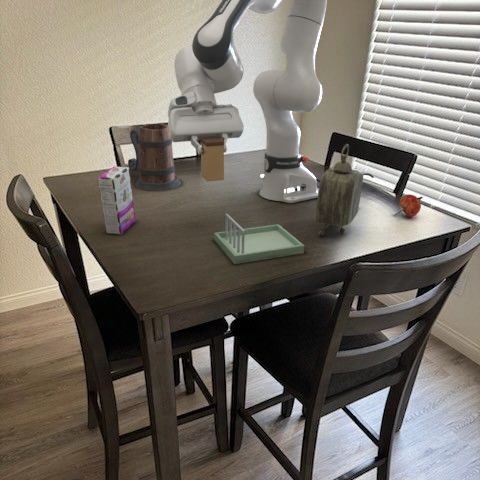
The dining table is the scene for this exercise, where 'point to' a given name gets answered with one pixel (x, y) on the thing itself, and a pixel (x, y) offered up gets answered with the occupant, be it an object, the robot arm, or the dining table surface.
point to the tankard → (153, 158)
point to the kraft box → (212, 159)
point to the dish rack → (256, 242)
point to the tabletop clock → (339, 194)
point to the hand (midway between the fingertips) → (212, 152)
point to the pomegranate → (410, 205)
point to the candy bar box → (116, 199)
